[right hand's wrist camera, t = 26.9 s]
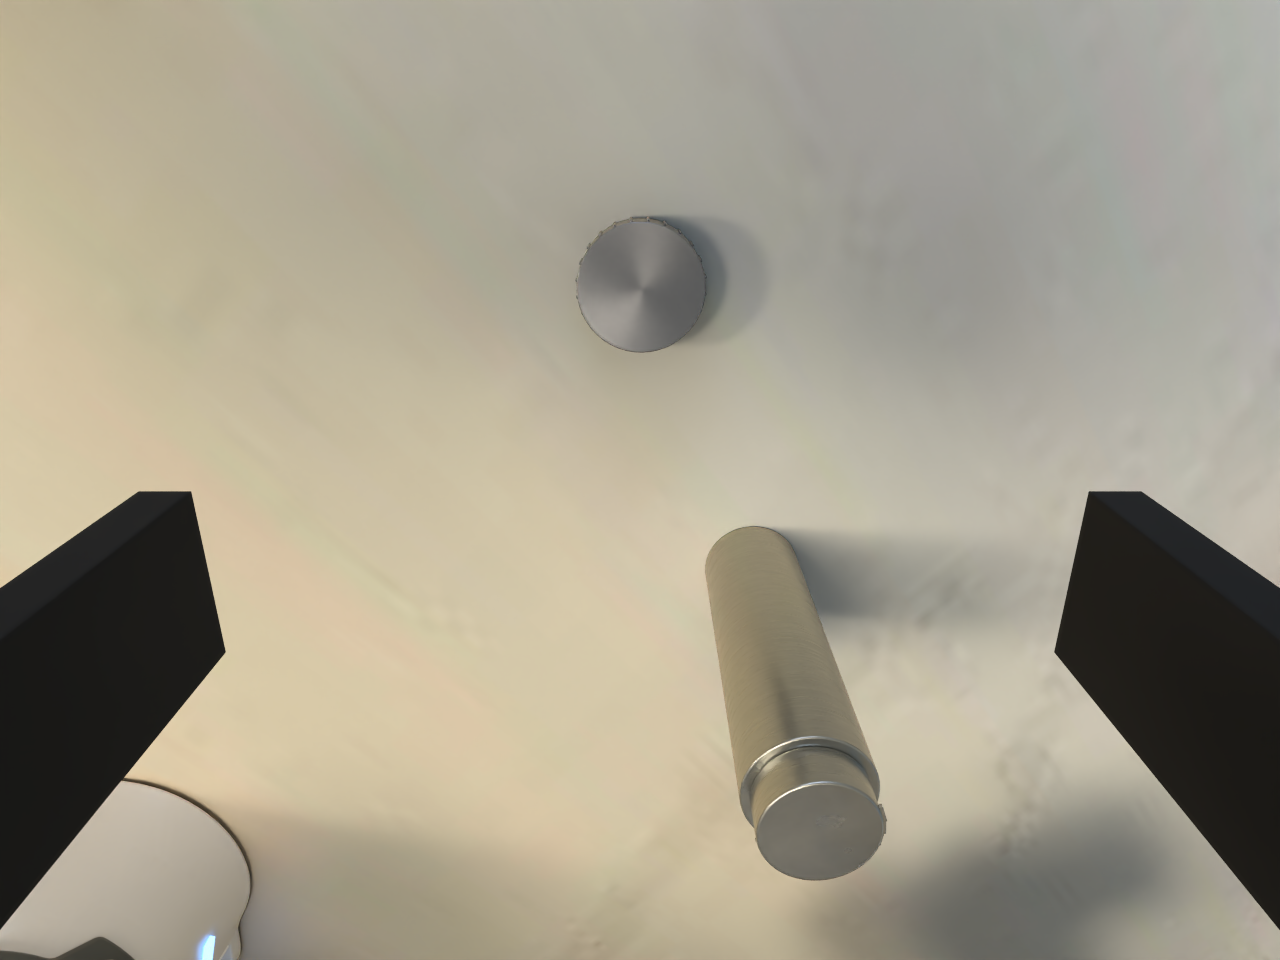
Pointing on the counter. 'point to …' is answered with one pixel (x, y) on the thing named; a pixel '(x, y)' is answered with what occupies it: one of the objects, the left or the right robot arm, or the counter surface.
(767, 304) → the counter surface
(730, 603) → the bottle
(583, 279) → the lid
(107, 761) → the right robot arm
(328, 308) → the counter surface
